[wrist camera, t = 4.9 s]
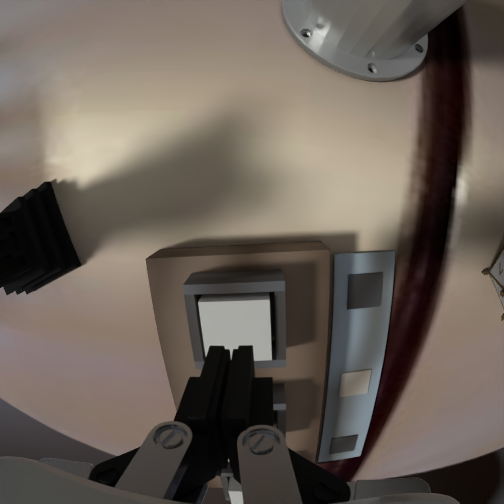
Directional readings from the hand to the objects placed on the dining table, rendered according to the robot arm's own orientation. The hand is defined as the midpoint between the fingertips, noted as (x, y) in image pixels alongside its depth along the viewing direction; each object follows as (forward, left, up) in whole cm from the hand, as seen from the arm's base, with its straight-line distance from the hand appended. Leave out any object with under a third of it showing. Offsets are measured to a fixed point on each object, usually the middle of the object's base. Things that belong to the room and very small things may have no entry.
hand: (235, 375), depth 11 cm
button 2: (+1, +1, -8) cm, 8 cm away
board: (+3, +10, -11) cm, 15 cm away
